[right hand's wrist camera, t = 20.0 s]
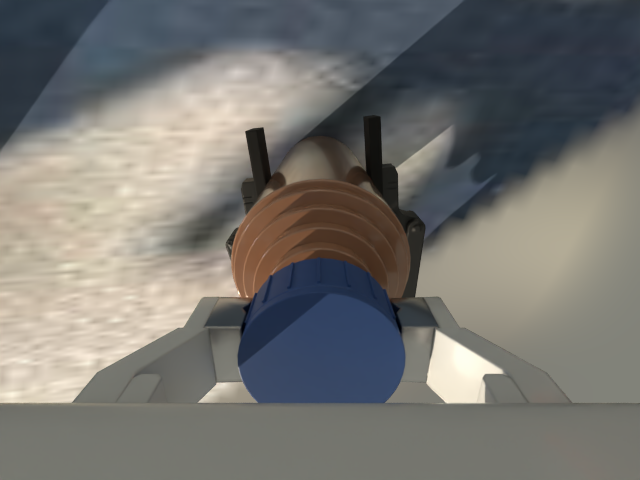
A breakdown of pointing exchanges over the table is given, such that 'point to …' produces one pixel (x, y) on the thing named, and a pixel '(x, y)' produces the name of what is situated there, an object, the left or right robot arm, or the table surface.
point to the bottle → (320, 220)
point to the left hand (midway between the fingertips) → (312, 123)
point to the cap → (321, 337)
